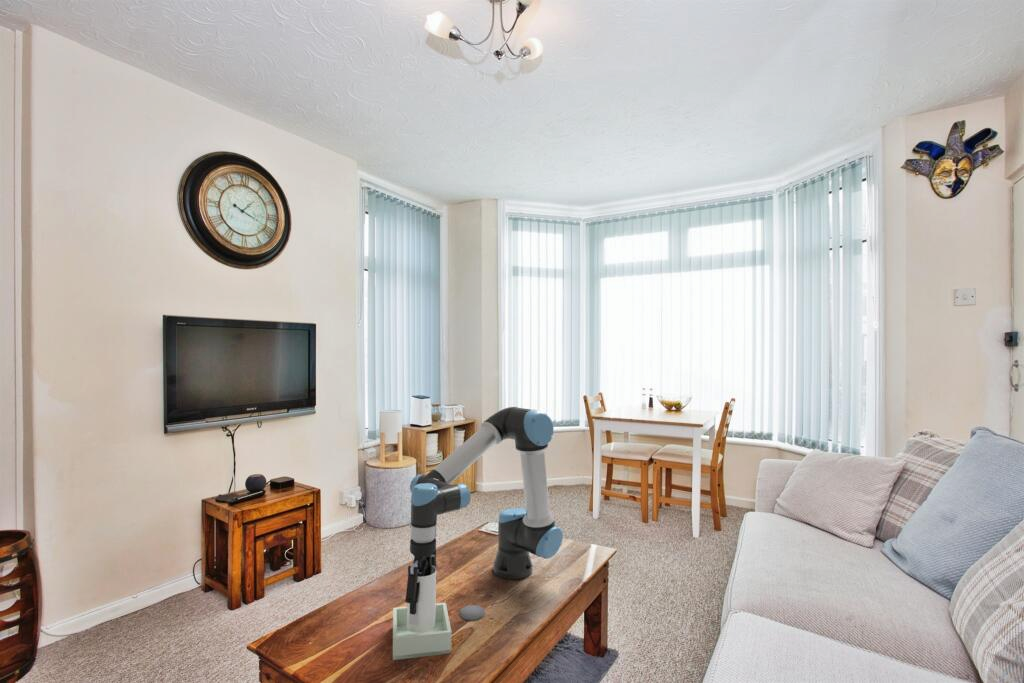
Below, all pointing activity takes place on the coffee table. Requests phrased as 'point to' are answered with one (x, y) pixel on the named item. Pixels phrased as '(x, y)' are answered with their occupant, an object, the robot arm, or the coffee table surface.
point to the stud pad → (472, 612)
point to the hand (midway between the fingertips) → (421, 615)
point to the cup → (425, 604)
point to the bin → (421, 635)
